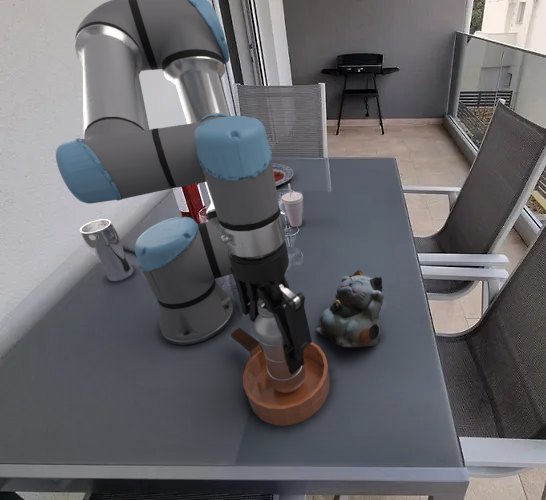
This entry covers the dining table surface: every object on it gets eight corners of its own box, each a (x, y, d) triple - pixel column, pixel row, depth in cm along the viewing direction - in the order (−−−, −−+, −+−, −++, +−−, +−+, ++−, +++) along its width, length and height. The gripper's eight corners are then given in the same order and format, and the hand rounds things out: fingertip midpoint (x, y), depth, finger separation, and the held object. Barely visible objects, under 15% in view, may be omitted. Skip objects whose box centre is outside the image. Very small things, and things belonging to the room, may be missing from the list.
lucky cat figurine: (307, 324, 75) (317, 261, 73) (354, 322, 81) (365, 265, 79) (339, 356, 63) (353, 282, 61) (392, 352, 69) (406, 284, 67)
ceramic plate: (264, 164, 156) (262, 157, 154) (307, 175, 143) (306, 168, 141) (216, 185, 139) (214, 178, 137) (259, 200, 126) (258, 192, 124)
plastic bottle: (300, 401, 60) (284, 319, 48) (263, 394, 61) (238, 313, 49) (311, 369, 65) (298, 288, 53) (277, 363, 66) (257, 283, 54)
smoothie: (282, 227, 110) (274, 186, 102) (292, 217, 115) (286, 177, 107) (300, 230, 108) (294, 188, 100) (309, 220, 112) (304, 180, 104)
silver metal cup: (141, 269, 94) (118, 221, 86) (117, 285, 89) (90, 236, 81) (124, 263, 97) (99, 216, 88) (100, 278, 92) (72, 230, 83)
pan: (232, 392, 63) (226, 375, 60) (292, 342, 71) (288, 325, 69) (286, 444, 55) (281, 427, 52) (345, 380, 64) (344, 363, 61)
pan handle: (231, 343, 69) (227, 334, 67) (244, 333, 71) (241, 324, 69) (257, 365, 64) (254, 356, 63) (270, 353, 66) (268, 344, 65)
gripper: (191, 233, 48) (230, 343, 62) (284, 289, 38) (307, 407, 51) (236, 211, 53) (263, 318, 66) (330, 256, 43) (340, 372, 56)
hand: (282, 356), depth 59 cm, fingers closed on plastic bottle, 6 cm apart
